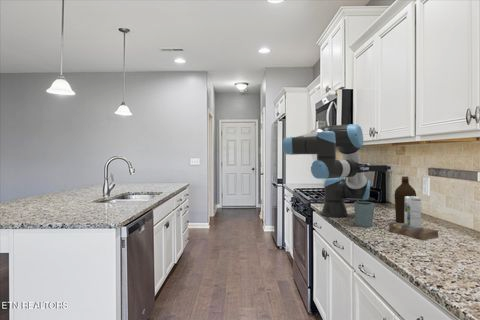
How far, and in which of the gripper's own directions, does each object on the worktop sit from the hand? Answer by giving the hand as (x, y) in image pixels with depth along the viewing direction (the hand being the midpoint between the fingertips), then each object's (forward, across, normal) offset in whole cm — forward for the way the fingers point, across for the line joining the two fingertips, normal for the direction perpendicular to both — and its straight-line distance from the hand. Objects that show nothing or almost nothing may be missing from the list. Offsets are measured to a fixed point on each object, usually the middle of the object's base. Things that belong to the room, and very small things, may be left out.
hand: (381, 166), depth 150 cm
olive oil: (+36, -16, -32) cm, 51 cm away
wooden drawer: (+17, +3, -32) cm, 36 cm away
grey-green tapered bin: (+11, -22, -32) cm, 40 cm away
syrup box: (+17, +3, -29) cm, 34 cm away
